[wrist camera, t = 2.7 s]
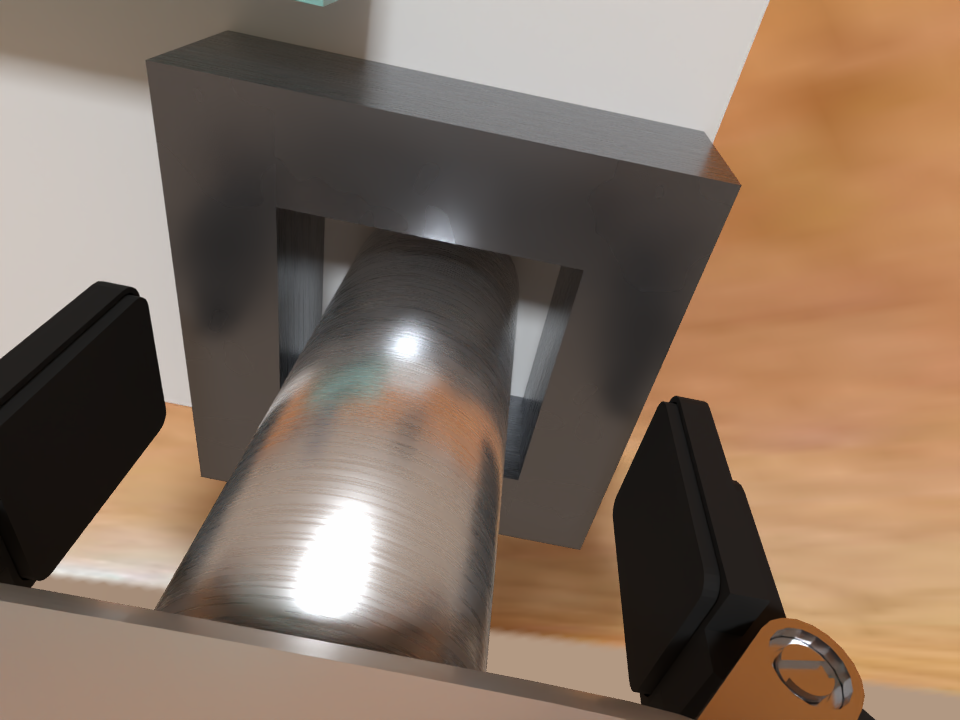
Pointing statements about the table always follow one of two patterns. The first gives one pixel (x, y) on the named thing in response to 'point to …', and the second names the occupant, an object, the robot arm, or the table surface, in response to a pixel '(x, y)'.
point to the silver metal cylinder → (375, 467)
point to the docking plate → (334, 28)
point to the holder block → (435, 215)
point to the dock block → (318, 2)
